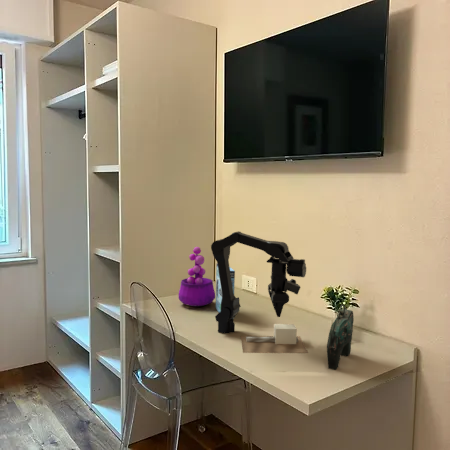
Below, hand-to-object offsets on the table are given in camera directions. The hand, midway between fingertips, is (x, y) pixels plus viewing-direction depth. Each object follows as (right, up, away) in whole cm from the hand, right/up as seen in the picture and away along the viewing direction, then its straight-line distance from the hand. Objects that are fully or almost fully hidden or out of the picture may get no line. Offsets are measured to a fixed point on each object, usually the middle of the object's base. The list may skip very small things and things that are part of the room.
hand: (277, 313), depth 182 cm
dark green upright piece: (+21, -14, -17) cm, 30 cm away
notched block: (+3, -11, -2) cm, 11 cm away
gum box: (-21, -8, +39) cm, 45 cm away
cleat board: (-2, -12, -5) cm, 13 cm away
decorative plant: (-35, -6, +55) cm, 65 cm away
